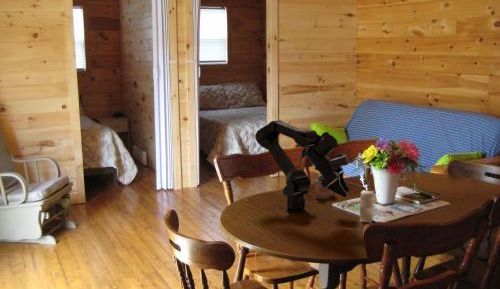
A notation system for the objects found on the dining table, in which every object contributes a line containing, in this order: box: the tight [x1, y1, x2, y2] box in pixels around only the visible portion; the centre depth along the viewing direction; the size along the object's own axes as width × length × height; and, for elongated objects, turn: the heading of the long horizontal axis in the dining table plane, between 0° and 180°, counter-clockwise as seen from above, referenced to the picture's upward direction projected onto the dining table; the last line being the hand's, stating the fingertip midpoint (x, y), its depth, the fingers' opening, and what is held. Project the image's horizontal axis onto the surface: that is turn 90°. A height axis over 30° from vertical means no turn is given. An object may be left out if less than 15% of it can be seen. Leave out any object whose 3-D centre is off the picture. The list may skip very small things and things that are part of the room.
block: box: [359, 189, 375, 224], centre depth 190 cm, size 4×4×11 cm
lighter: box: [314, 174, 334, 200], centre depth 224 cm, size 8×3×10 cm, turn 105°
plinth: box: [373, 209, 383, 216], centre depth 201 cm, size 6×6×1 cm
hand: (347, 193), depth 193 cm, fingers open, 9 cm apart
